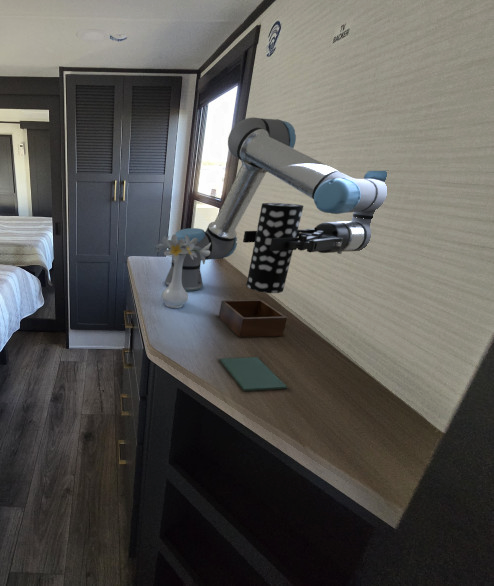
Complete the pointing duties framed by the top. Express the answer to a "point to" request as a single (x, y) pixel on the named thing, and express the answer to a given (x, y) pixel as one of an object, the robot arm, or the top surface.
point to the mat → (252, 374)
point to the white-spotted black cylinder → (264, 263)
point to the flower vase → (179, 267)
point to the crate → (252, 318)
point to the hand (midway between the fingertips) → (257, 240)
